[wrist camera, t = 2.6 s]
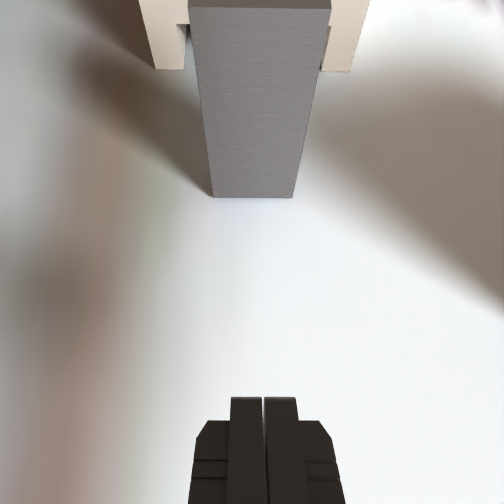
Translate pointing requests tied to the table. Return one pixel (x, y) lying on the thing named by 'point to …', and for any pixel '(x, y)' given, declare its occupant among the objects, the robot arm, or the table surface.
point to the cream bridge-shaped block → (176, 19)
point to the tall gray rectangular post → (256, 89)
